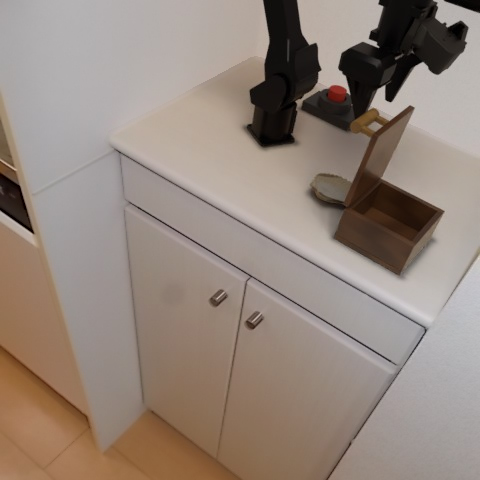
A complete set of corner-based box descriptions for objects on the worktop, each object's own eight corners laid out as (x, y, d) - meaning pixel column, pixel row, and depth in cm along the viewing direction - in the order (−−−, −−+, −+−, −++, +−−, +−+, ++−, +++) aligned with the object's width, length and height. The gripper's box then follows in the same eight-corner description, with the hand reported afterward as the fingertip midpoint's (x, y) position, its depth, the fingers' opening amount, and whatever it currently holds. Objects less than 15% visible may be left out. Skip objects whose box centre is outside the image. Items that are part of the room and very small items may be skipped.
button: (347, 99, 96) (350, 89, 95) (339, 104, 94) (341, 95, 93) (332, 92, 97) (335, 83, 96) (324, 97, 95) (326, 88, 94)
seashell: (360, 213, 82) (336, 175, 85) (371, 200, 80) (346, 161, 83) (321, 218, 78) (297, 178, 81) (331, 205, 76) (306, 163, 78)
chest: (430, 239, 78) (445, 210, 74) (399, 275, 72) (414, 246, 68) (368, 206, 81) (379, 177, 77) (333, 238, 75) (344, 208, 71)
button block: (361, 119, 98) (367, 101, 96) (346, 131, 95) (352, 113, 92) (317, 98, 101) (321, 81, 99) (300, 109, 98) (304, 91, 95)
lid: (415, 107, 68) (384, 90, 69) (378, 136, 62) (344, 117, 63) (382, 176, 76) (355, 160, 78) (347, 207, 70) (318, 189, 72)
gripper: (441, 28, 56) (393, 157, 68) (499, -4, 67) (449, 112, 79) (353, -4, 60) (322, 123, 72) (421, -30, 71) (385, 84, 83)
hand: (374, 110), depth 76 cm, fingers open, 9 cm apart
